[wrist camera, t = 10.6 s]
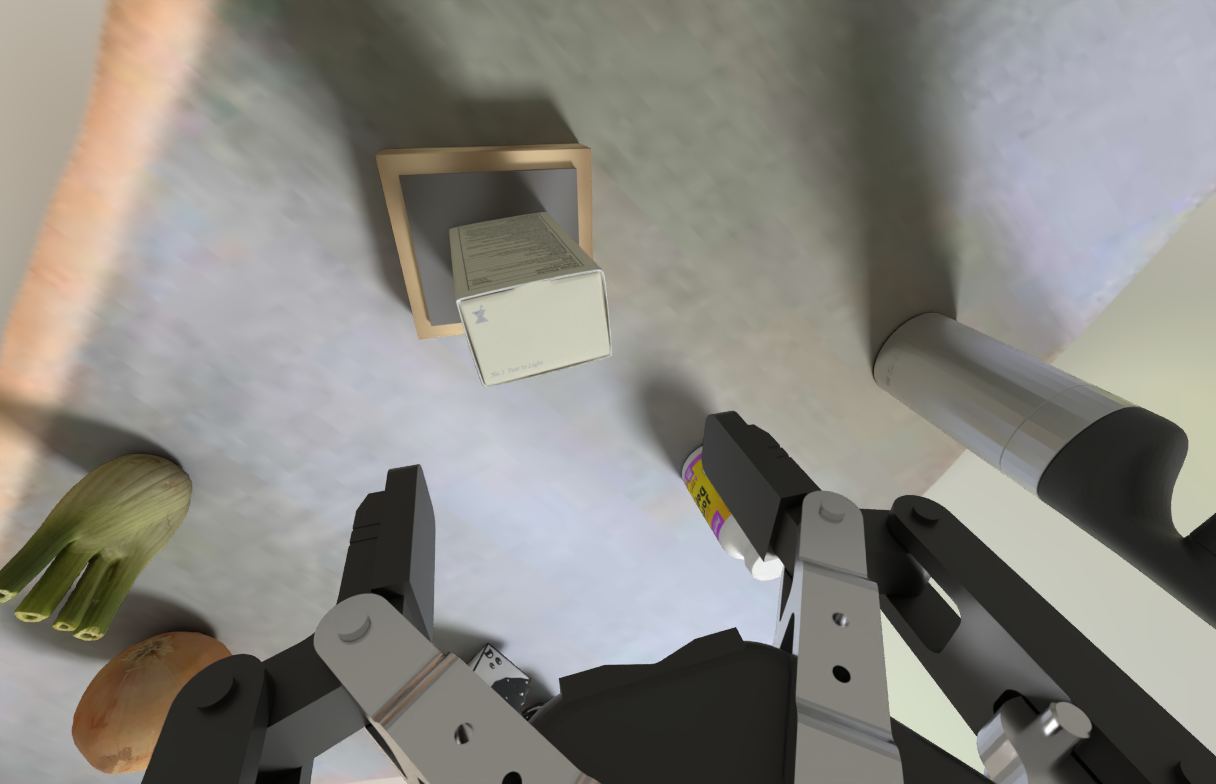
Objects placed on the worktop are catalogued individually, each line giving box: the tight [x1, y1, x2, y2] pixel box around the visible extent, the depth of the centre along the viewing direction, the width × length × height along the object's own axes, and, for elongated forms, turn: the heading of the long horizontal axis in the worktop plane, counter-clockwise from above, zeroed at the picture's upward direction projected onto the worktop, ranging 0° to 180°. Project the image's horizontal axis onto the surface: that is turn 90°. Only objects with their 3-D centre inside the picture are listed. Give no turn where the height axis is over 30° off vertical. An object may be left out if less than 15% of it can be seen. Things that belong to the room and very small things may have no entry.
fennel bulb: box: [0, 454, 192, 641], centre depth 30 cm, size 6×5×12 cm
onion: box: [72, 632, 232, 774], centre depth 40 cm, size 10×10×10 cm
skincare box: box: [449, 212, 612, 387], centre depth 25 cm, size 6×4×12 cm
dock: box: [375, 143, 593, 339], centre depth 31 cm, size 12×11×3 cm
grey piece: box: [467, 643, 545, 722], centre depth 58 cm, size 25×10×10 cm, turn 25°
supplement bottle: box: [682, 446, 783, 580], centre depth 45 cm, size 7×7×13 cm
